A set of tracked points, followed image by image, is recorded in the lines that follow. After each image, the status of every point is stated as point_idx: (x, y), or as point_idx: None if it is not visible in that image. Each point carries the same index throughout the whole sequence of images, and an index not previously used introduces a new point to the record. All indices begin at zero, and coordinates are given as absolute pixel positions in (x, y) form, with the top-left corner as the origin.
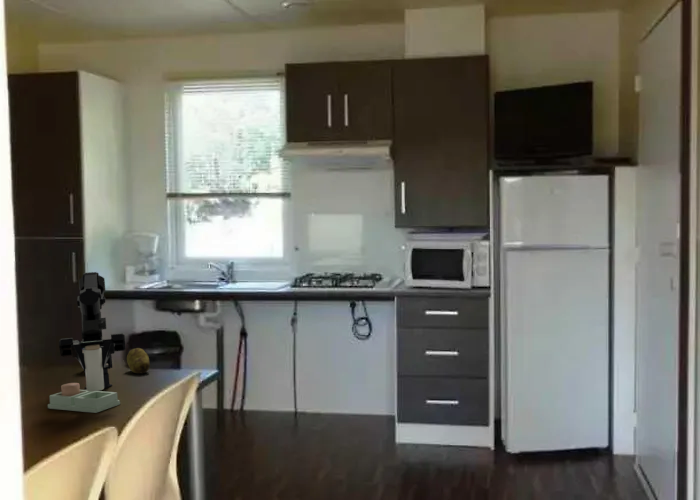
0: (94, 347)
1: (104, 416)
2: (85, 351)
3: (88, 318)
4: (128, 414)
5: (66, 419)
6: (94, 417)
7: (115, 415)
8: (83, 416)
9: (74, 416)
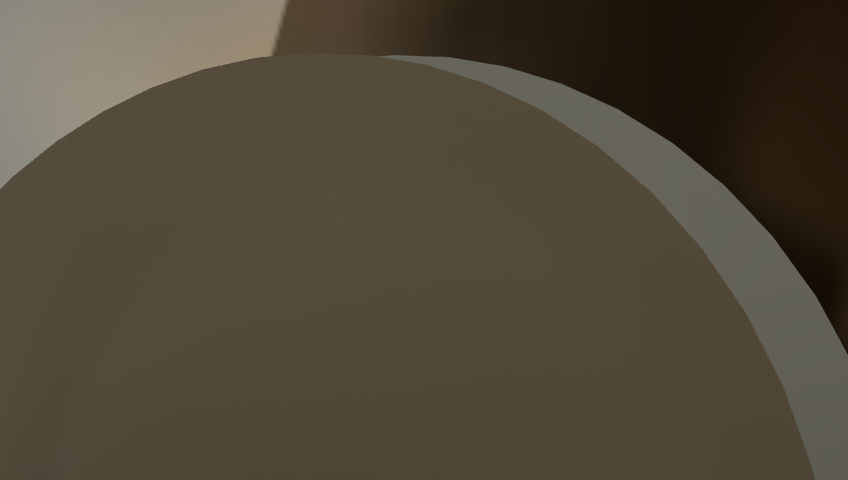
0: (155, 115)
1: (463, 49)
2: (703, 181)
3: None
4: (275, 54)
5: (825, 46)
6: (549, 41)
7: (374, 54)
8: (663, 108)
9: (761, 137)
